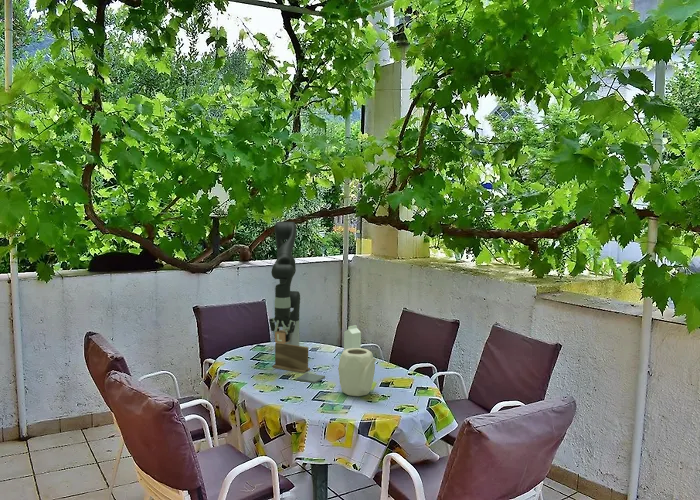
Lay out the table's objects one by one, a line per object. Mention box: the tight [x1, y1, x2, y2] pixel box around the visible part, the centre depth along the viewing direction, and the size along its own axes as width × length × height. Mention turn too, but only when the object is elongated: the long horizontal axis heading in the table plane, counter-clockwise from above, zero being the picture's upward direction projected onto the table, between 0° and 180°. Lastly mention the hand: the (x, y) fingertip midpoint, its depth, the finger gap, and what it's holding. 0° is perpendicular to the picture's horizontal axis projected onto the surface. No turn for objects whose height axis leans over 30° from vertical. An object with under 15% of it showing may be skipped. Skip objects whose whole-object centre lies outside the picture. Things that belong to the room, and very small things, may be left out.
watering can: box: [337, 347, 377, 397], centre depth 259 cm, size 16×27×19 cm, turn 31°
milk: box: [343, 324, 362, 351], centre depth 295 cm, size 6×6×22 cm
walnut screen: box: [272, 342, 311, 374], centre depth 293 cm, size 6×18×12 cm, turn 65°
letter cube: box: [274, 329, 289, 344], centre depth 284 cm, size 5×5×5 cm
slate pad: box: [295, 372, 326, 384], centre depth 279 cm, size 10×10×1 cm
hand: (282, 340), depth 284 cm, fingers closed on letter cube, 5 cm apart
